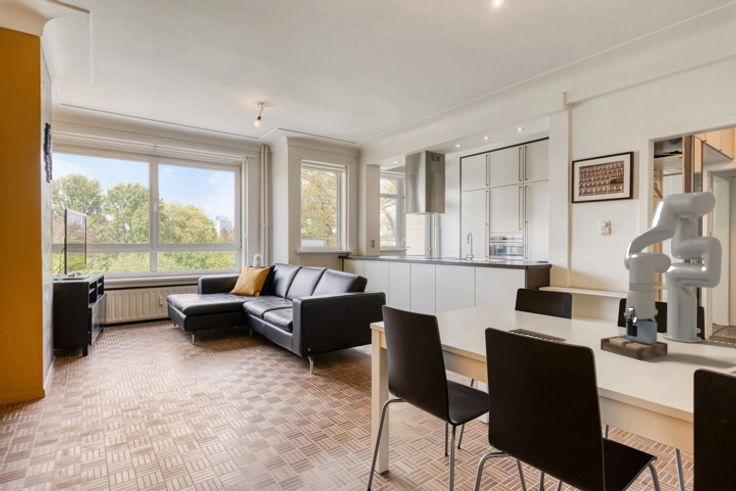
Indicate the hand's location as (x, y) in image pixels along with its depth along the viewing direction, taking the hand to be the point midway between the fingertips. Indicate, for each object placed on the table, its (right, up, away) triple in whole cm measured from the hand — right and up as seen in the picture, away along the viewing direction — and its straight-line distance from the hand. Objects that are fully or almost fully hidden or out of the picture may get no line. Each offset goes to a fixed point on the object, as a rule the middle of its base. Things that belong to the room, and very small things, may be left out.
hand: (641, 334), depth 142 cm
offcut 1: (-8, -6, 0) cm, 10 cm away
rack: (-4, -7, -2) cm, 8 cm away
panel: (0, -6, 0) cm, 6 cm away
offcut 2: (-5, -6, -5) cm, 10 cm away
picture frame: (-33, -8, +20) cm, 39 cm away
